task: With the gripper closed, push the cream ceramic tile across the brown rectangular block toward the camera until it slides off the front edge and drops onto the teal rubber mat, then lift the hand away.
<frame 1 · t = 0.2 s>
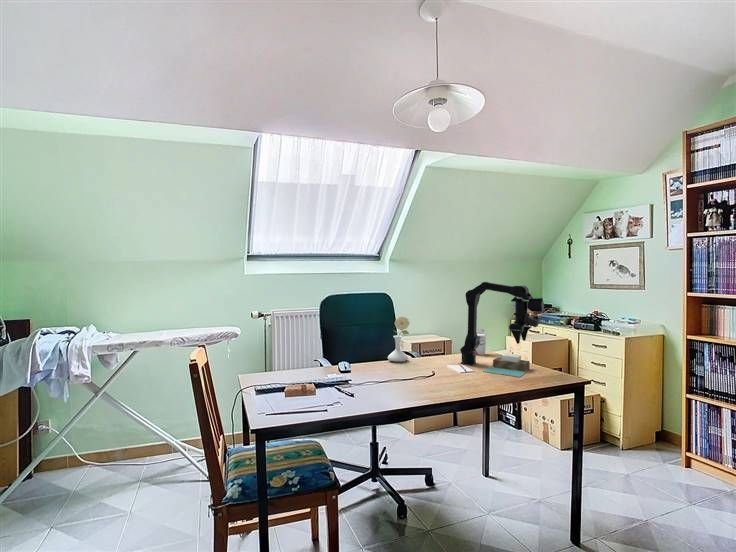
hand: (521, 342, 214), 14 cm above the table, tool pointing down, fingers open, 9 cm apart
ink cartridge box: (477, 354, 253), on the table
brown rectangular block: (511, 368, 220), on the table
mat: (504, 372, 212), on the table
flower in vase: (399, 361, 238), on the table
tile: (511, 357, 220), point 5 cm above the table, touching brown rectangular block
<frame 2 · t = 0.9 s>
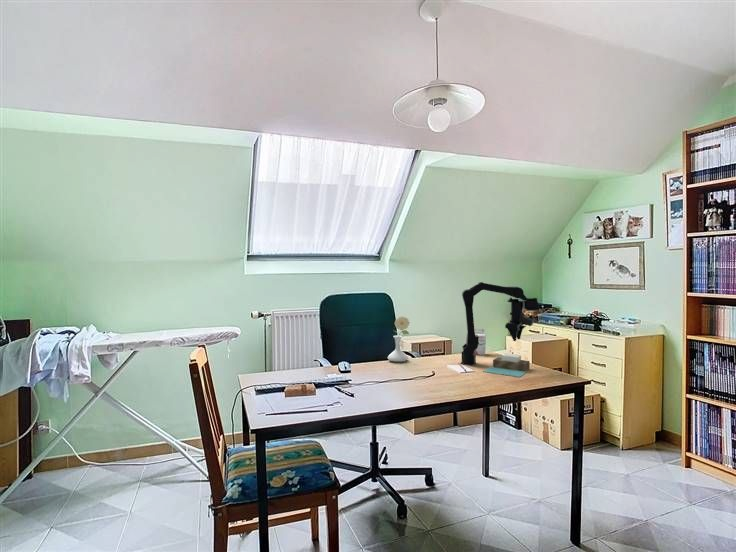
hand: (516, 340, 226), 13 cm above the table, tool pointing down, fingers open, 6 cm apart
nothing on the table moved.
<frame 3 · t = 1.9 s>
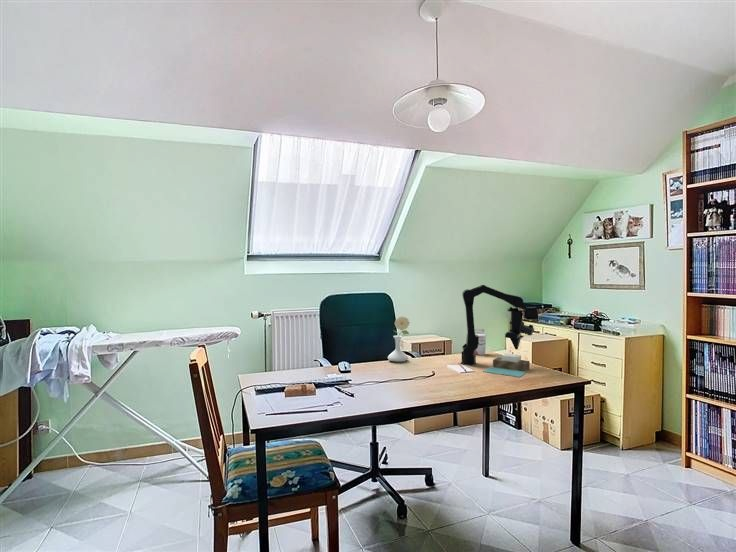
hand: (516, 349, 227), 8 cm above the table, tool pointing down, fingers closed
nothing on the table moved.
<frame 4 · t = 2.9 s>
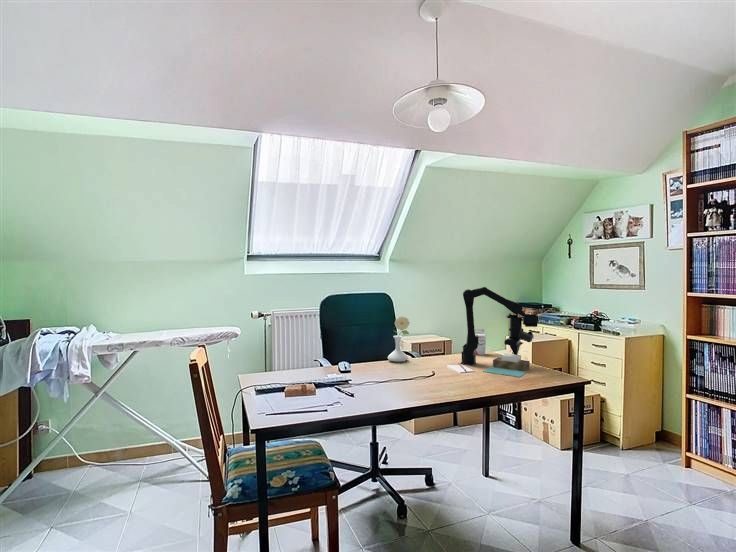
hand: (515, 356, 226), 5 cm above the table, tool pointing down, fingers closed
nothing on the table moved.
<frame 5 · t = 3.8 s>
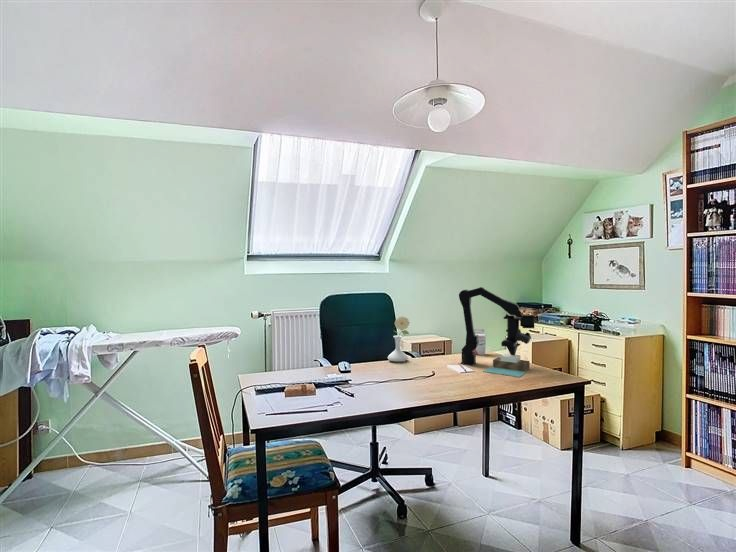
hand: (513, 357, 222), 5 cm above the table, tool pointing down, fingers closed
tile: (510, 358, 219), point 5 cm above the table, touching gripper
everything else where it was.
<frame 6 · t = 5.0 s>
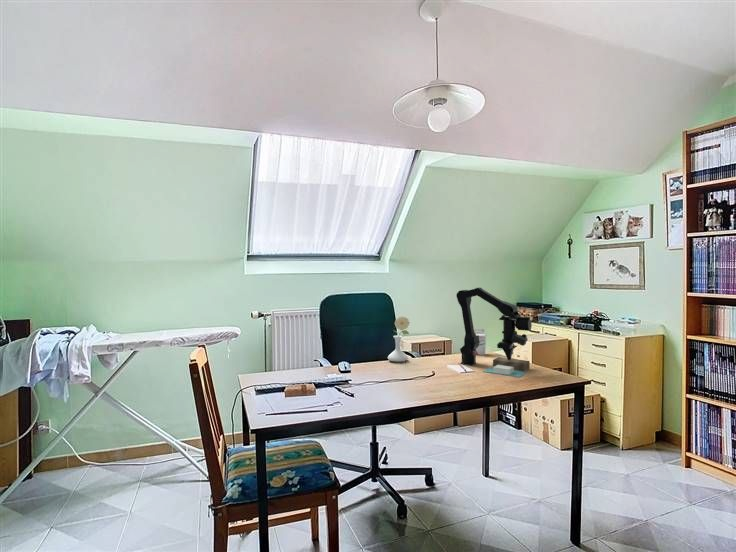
hand: (509, 359, 217), 5 cm above the table, tool pointing down, fingers closed
tile: (503, 369, 211), point 2 cm above the table, tilted 180°, touching mat
everything else where it was.
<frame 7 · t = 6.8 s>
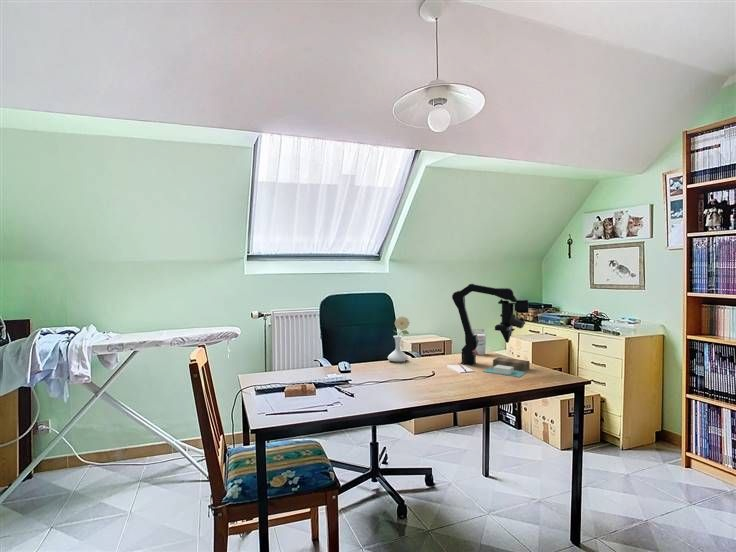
hand: (507, 342, 223), 13 cm above the table, tool pointing down, fingers closed
nothing on the table moved.
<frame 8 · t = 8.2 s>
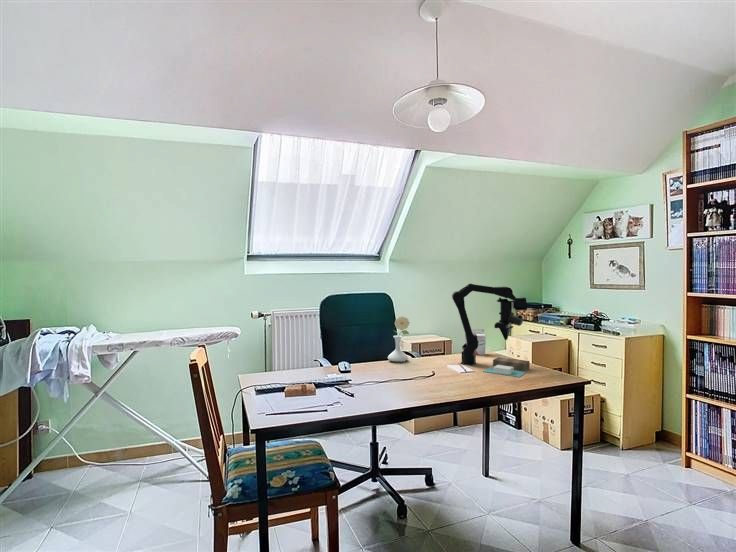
hand: (506, 339, 228), 13 cm above the table, tool pointing down, fingers closed
nothing on the table moved.
at the end: tile inside the target area (1.4 cm from its centre), point 1.5 cm above the table; tile point 1.5 cm above the table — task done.
